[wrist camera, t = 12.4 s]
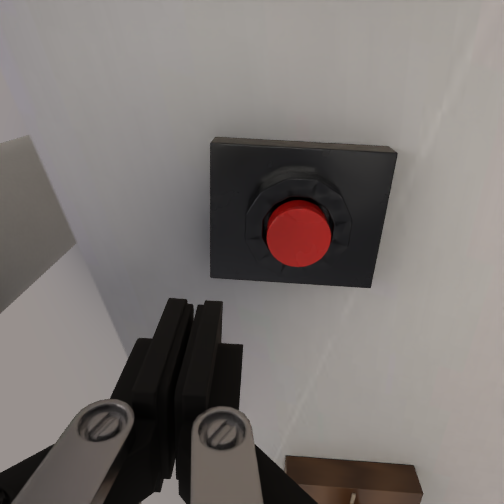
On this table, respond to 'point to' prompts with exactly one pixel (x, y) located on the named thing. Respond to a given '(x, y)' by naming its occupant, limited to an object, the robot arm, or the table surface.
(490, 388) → the table surface
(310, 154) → the black button base
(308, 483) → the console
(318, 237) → the button
